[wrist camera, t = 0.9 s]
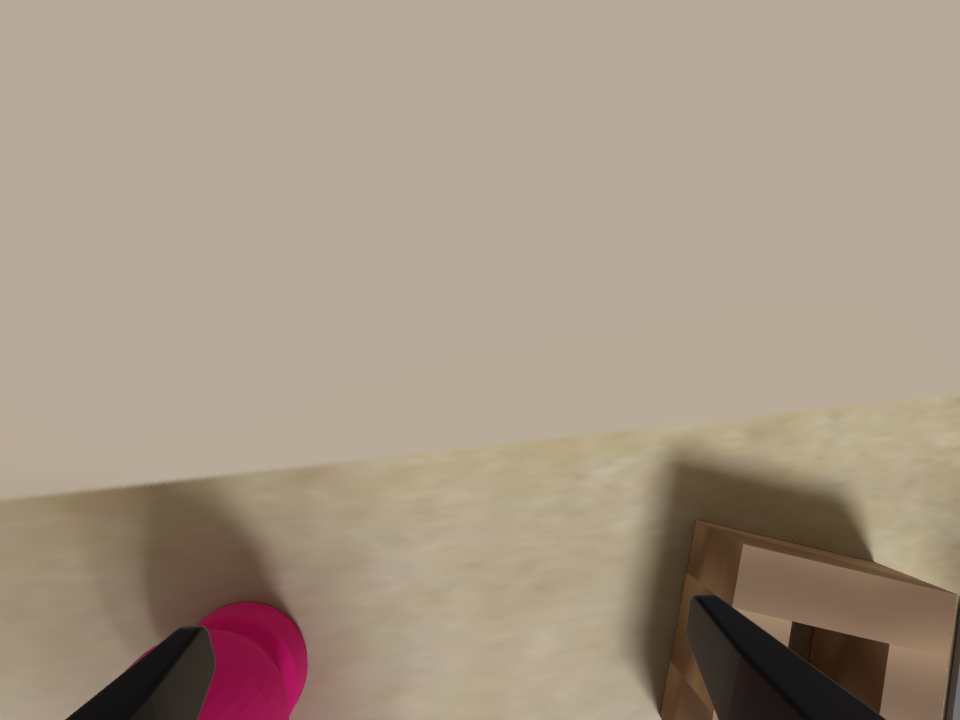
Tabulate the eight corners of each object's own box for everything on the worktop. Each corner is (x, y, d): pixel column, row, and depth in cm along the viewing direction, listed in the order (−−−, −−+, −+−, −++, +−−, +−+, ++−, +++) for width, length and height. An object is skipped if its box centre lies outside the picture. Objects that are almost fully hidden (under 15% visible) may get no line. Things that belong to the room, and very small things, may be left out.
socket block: (846, 758, 23) (926, 832, 19) (659, 715, 23) (701, 782, 19) (875, 562, 24) (956, 594, 20) (696, 520, 24) (743, 544, 20)
